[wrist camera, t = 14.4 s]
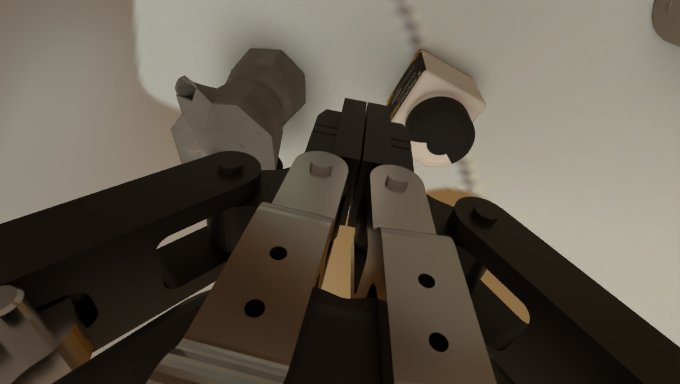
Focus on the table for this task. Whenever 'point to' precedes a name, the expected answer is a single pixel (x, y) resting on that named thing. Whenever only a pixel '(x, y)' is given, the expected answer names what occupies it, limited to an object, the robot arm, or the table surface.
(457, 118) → the medicine bottle
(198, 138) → the coffeepot
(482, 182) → the table surface
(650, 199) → the table surface
